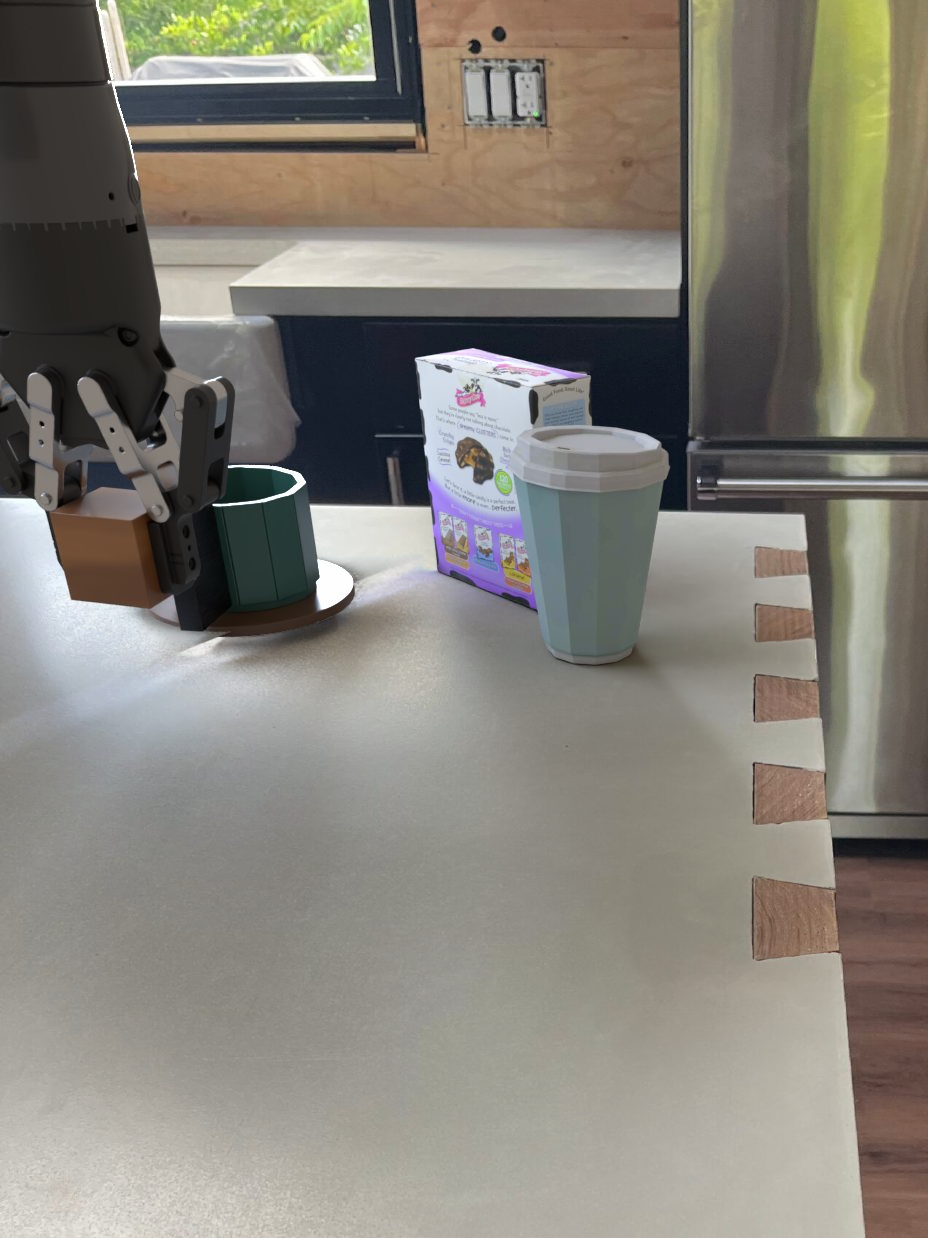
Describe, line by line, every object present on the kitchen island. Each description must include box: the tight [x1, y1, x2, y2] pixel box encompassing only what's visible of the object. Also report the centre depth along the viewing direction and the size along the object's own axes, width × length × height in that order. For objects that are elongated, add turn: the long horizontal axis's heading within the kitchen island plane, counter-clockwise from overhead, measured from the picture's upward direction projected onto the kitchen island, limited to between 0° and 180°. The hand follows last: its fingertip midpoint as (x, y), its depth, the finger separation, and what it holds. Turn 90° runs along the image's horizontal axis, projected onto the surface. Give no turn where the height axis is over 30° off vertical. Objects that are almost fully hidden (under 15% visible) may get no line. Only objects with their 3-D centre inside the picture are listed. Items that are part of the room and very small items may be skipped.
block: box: [50, 486, 196, 610], centre depth 67 cm, size 4×4×4 cm
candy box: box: [414, 348, 593, 610], centre depth 101 cm, size 14×6×16 cm, turn 46°
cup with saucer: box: [144, 464, 356, 638], centre depth 95 cm, size 18×15×11 cm
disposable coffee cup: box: [508, 425, 671, 666], centre depth 91 cm, size 11×11×15 cm
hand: (134, 583), depth 68 cm, fingers closed on block, 4 cm apart
